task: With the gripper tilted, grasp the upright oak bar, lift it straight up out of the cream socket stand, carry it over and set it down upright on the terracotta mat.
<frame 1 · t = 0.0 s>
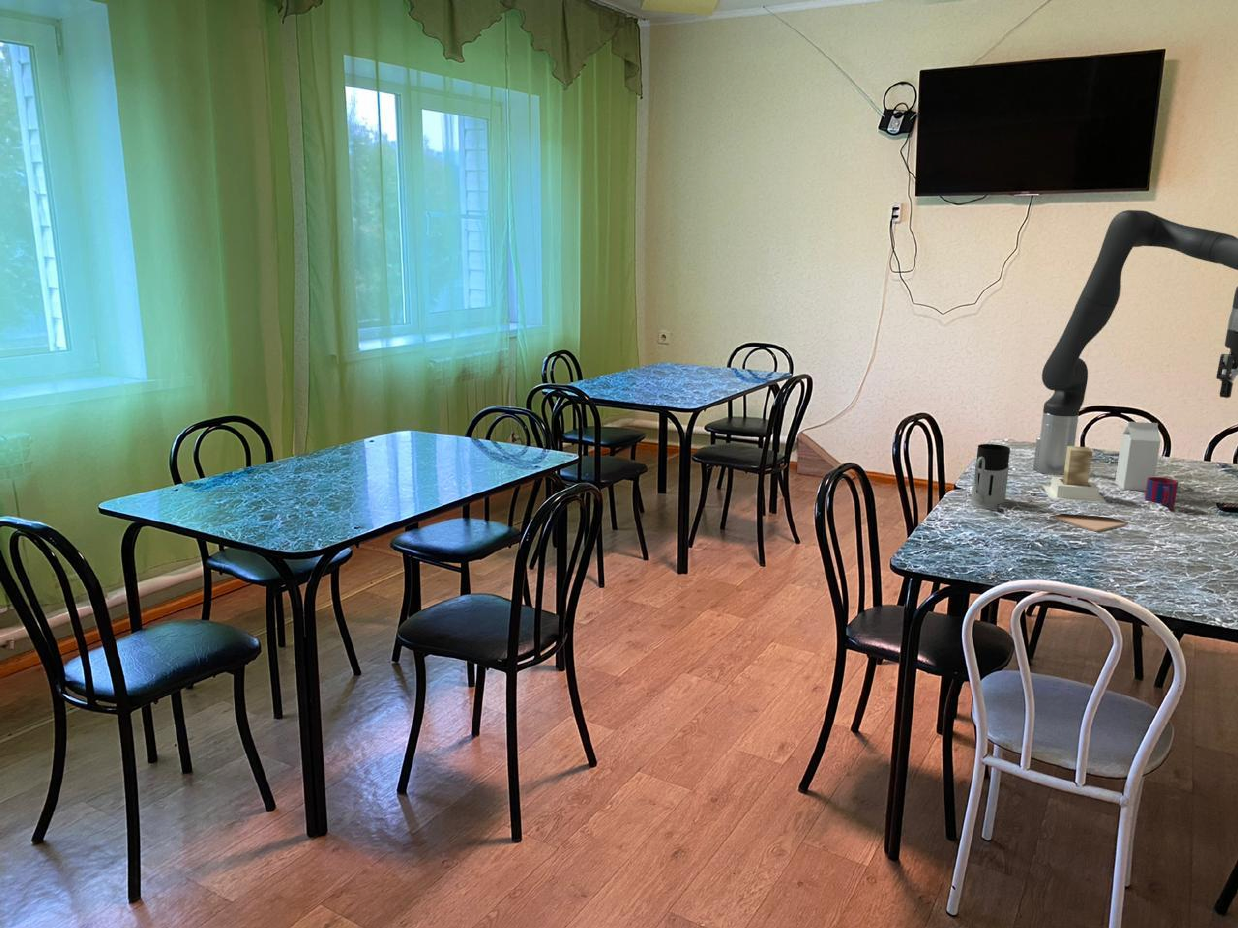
hand: (1234, 396, 223), 29 cm above the table, tool pointing down, fingers open, 8 cm apart
terracotta mat: (1088, 521, 221), on the table
mug: (1159, 508, 234), on the table
milk carton: (1132, 492, 248), on the table
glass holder: (983, 507, 232), on the table
socket stand: (1072, 499, 240), on the table
oak bar: (1073, 493, 240), point 1 cm above the table, touching socket stand
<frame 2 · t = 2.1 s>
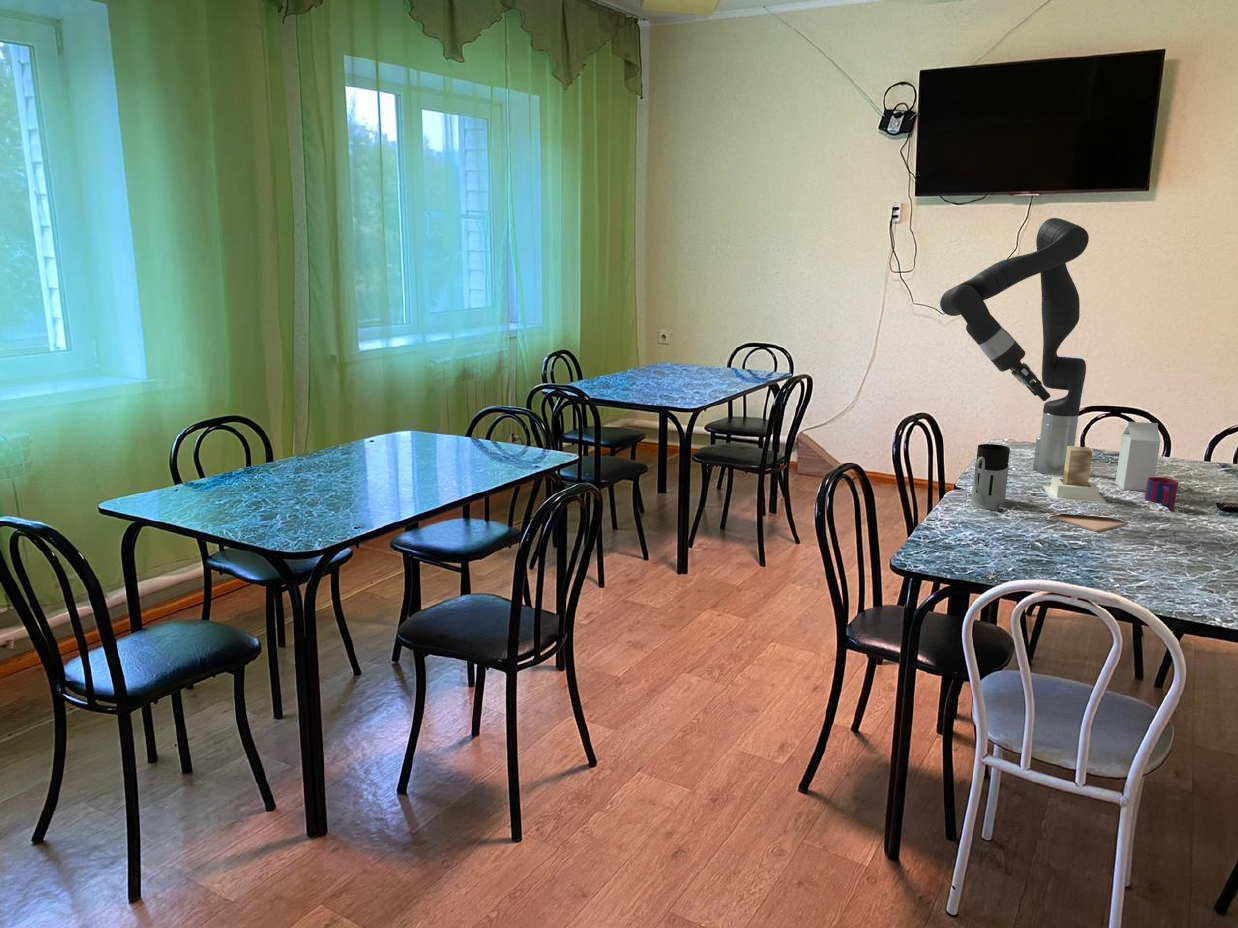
hand: (1043, 396, 236), 27 cm above the table, tool tilted 45°, fingers open, 8 cm apart
nothing on the table moved.
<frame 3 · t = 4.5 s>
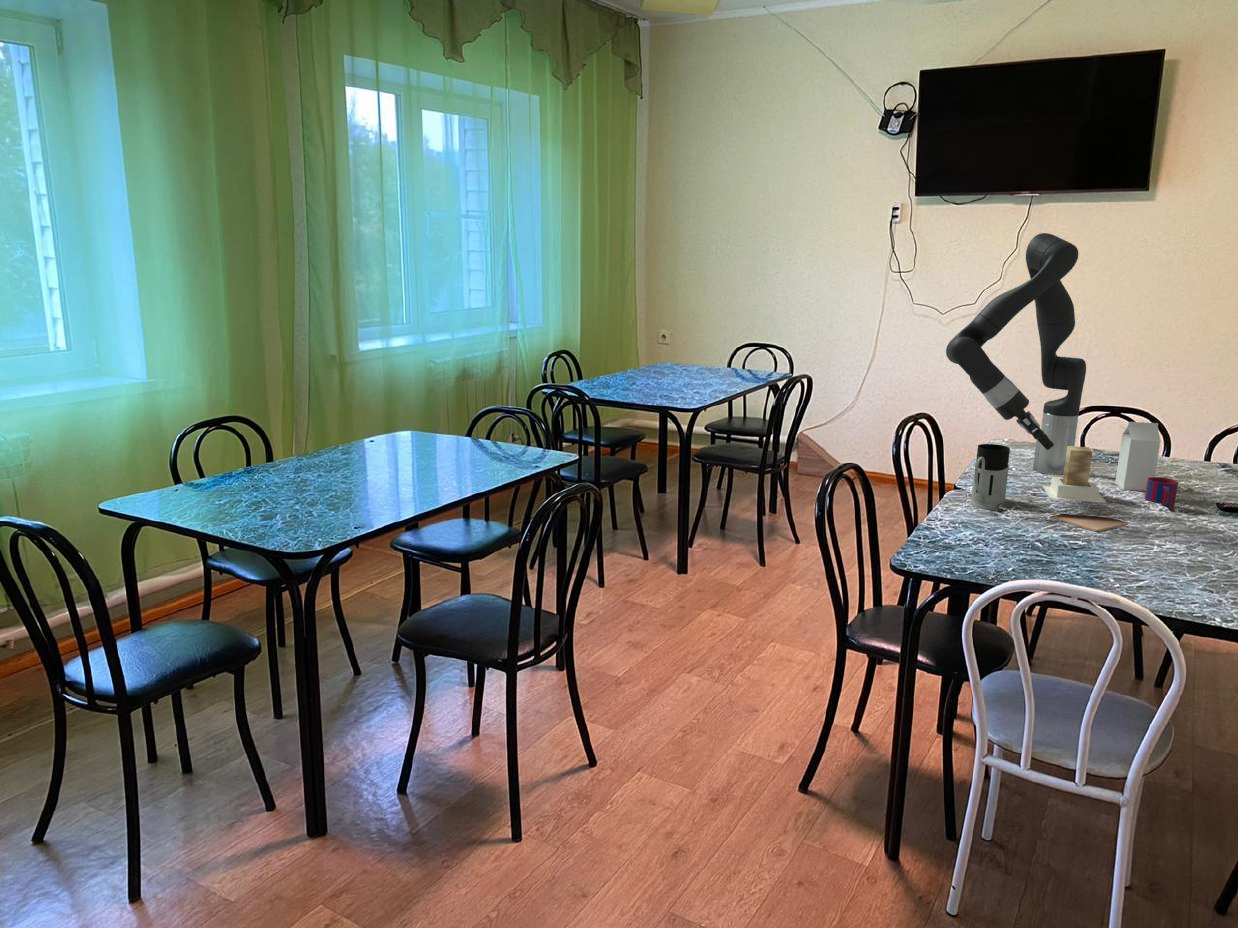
hand: (1048, 444, 239), 14 cm above the table, tool tilted 45°, fingers open, 8 cm apart
nothing on the table moved.
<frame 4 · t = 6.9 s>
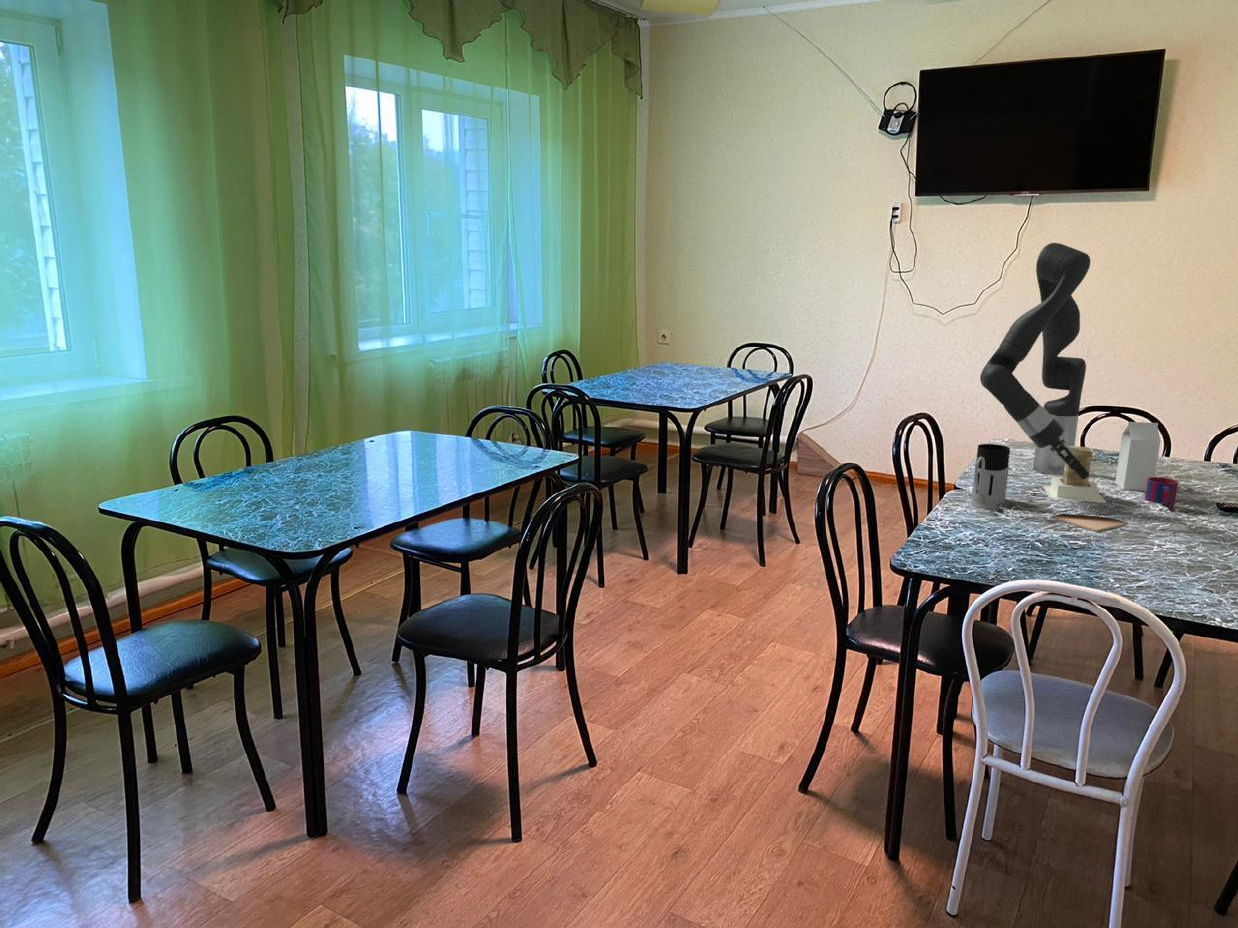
hand: (1084, 474, 238), 7 cm above the table, tool tilted 45°, fingers closed on oak bar, 5 cm apart
oak bar: (1073, 493, 240), point 2 cm above the table, touching gripper, socket stand
everything else where it was.
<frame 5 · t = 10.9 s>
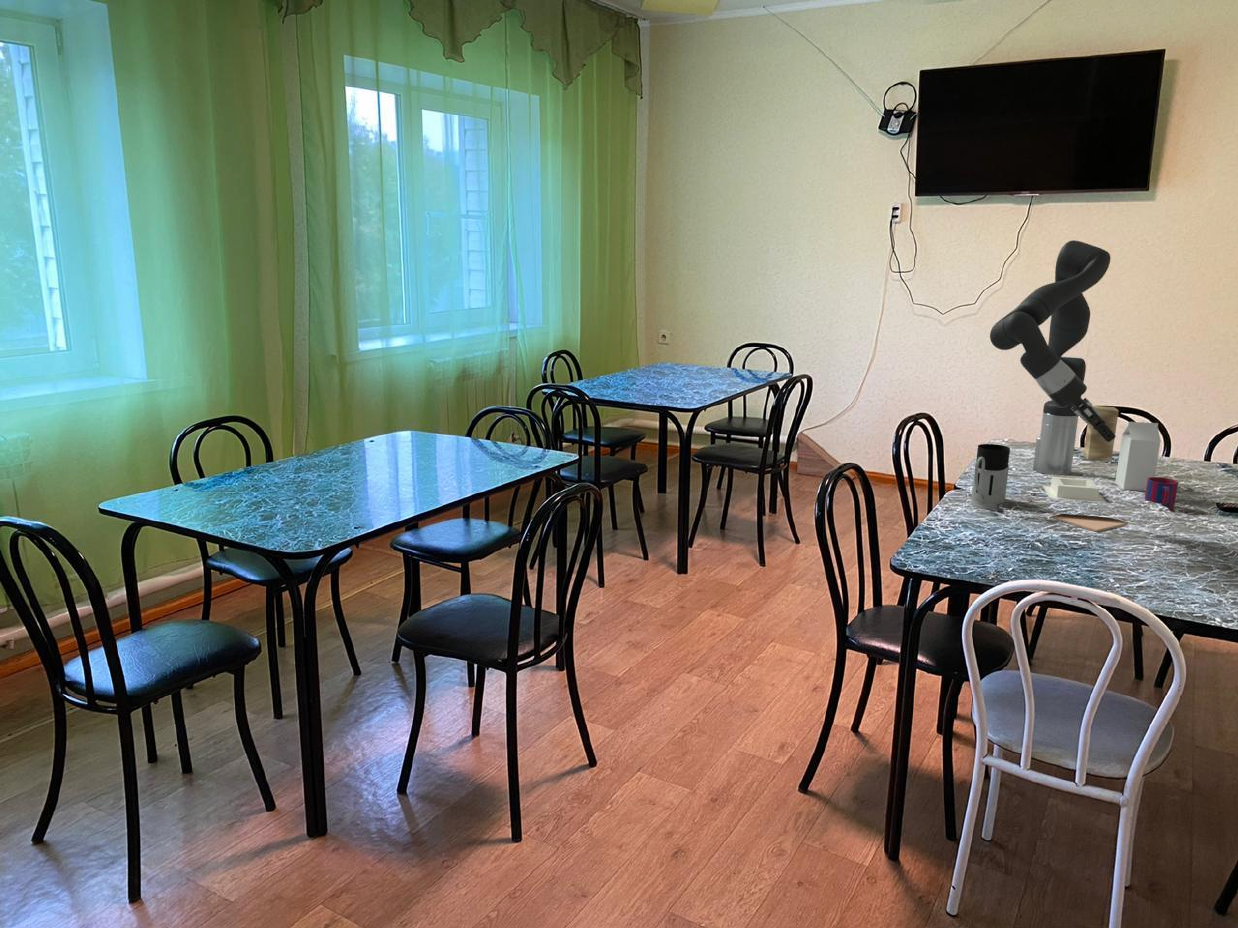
hand: (1109, 436, 216), 21 cm above the table, tool tilted 45°, fingers closed on oak bar, 5 cm apart
oak bar: (1097, 458, 218), point 16 cm above the table, touching gripper
everything else where it was.
when the fingers open (7 cm above the table, at t = 14.5 s): oak bar drops 1 cm, resting on terracotta mat.
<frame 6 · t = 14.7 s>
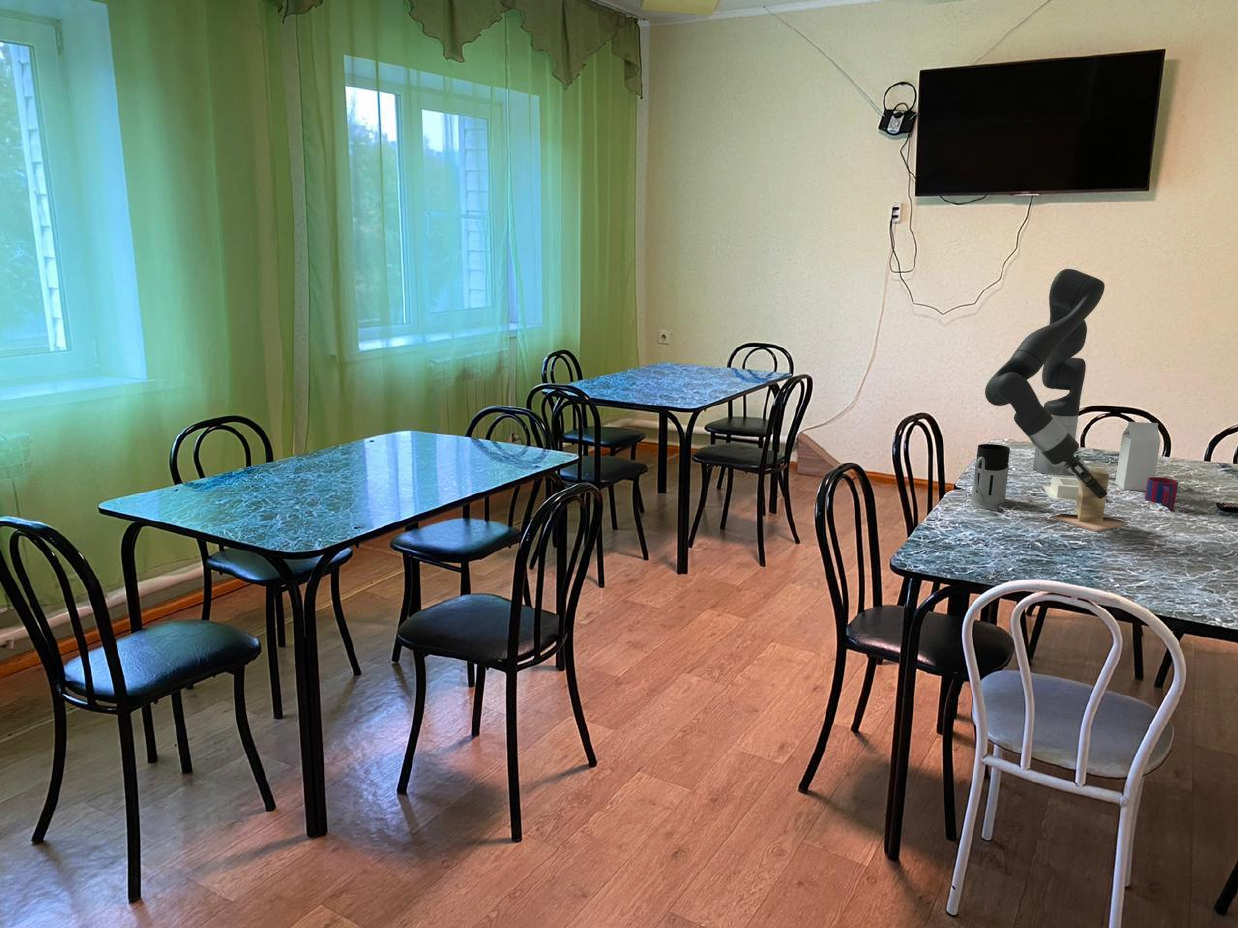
hand: (1100, 492, 219), 7 cm above the table, tool tilted 45°, fingers open, 6 cm apart
oak bar: (1088, 519, 221), resting on terracotta mat
everything else where it was.
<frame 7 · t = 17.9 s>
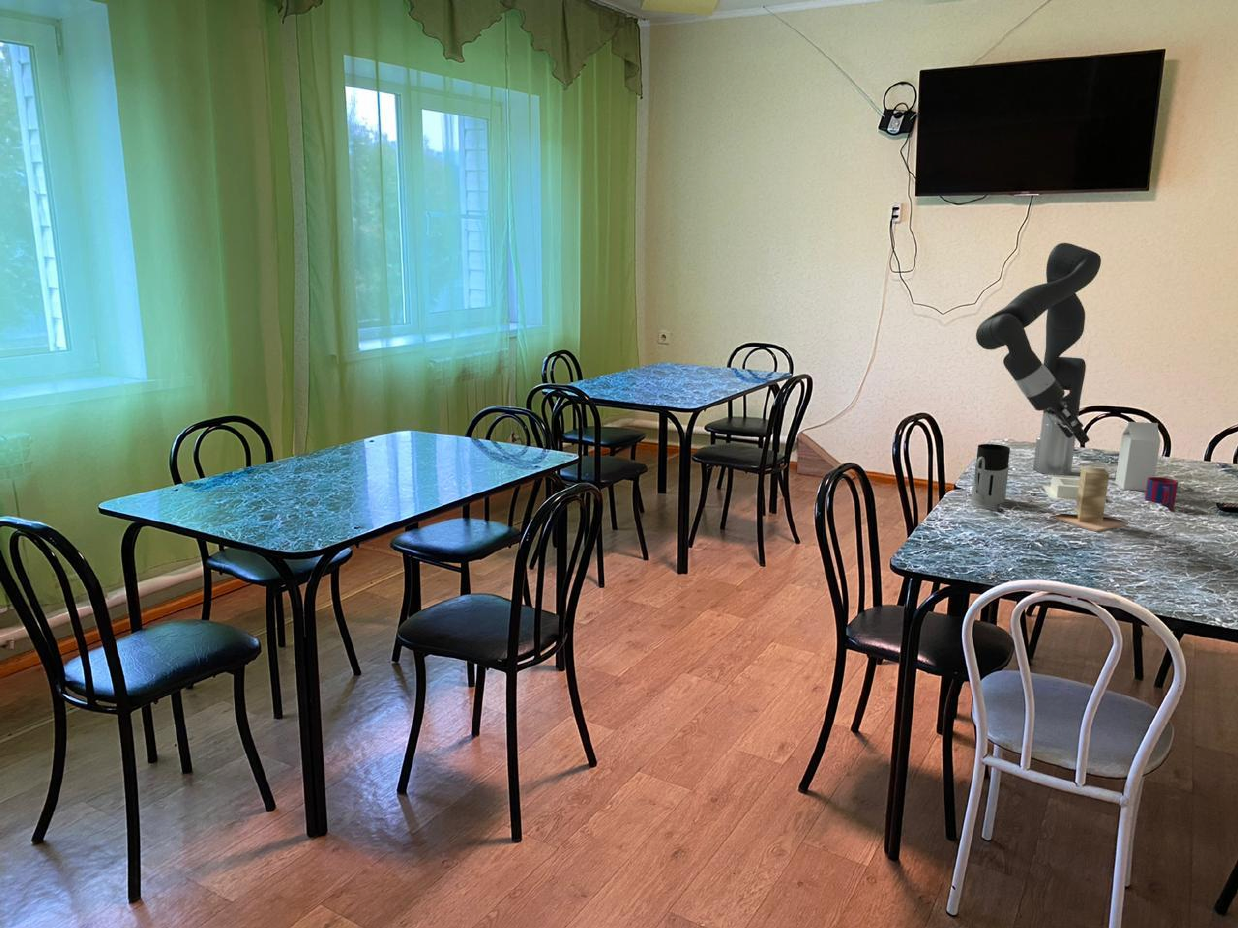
hand: (1078, 439, 221), 19 cm above the table, tool tilted 40°, fingers open, 8 cm apart
nothing on the table moved.
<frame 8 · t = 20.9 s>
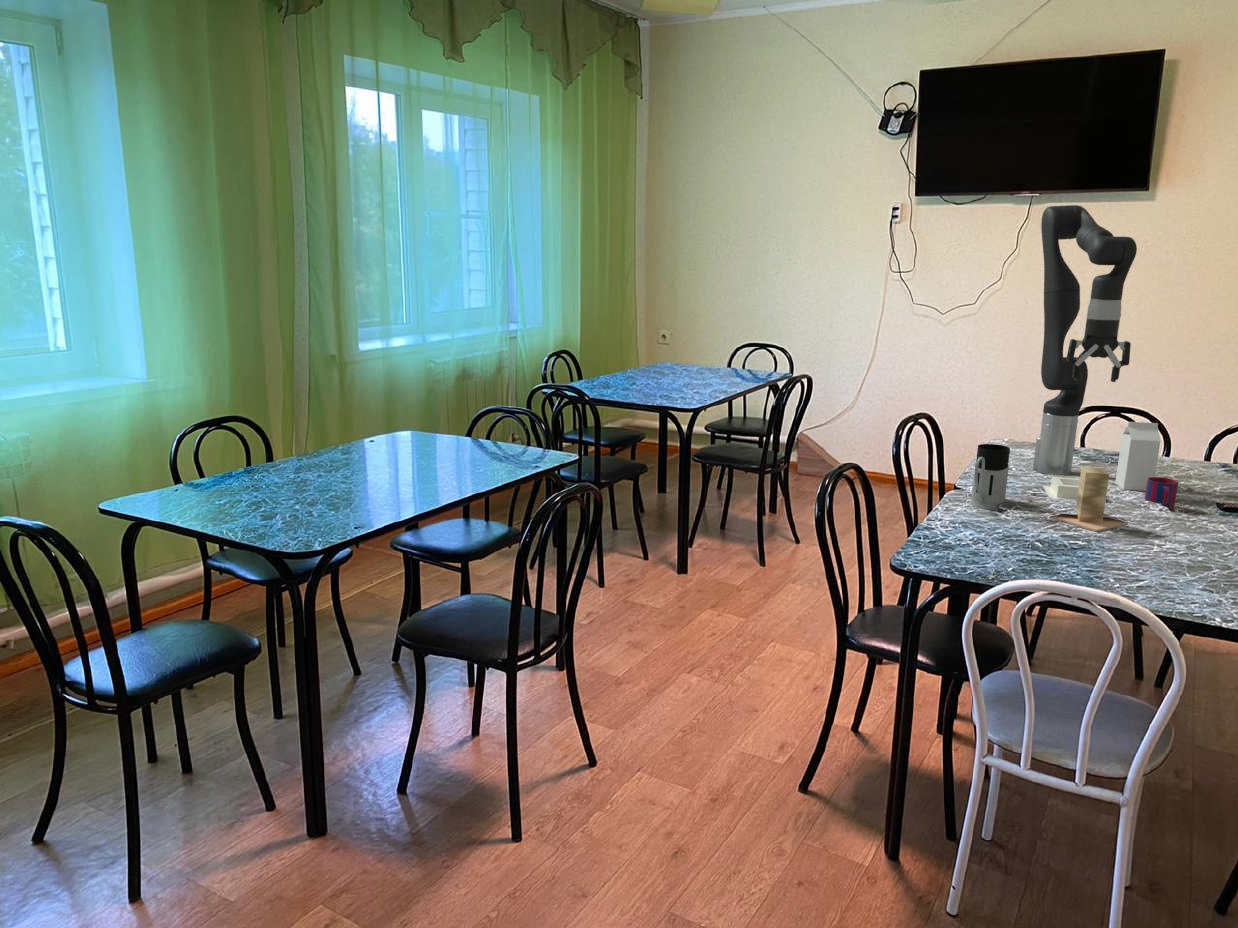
hand: (1094, 380, 239), 30 cm above the table, tool pointing down, fingers open, 8 cm apart
nothing on the table moved.
at the end: oak bar inside the target area on the terracotta mat (0.1 cm from its centre), point 0.5 cm above the terracotta mat's base; oak bar tilted 0°; the gripper is holding nothing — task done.
